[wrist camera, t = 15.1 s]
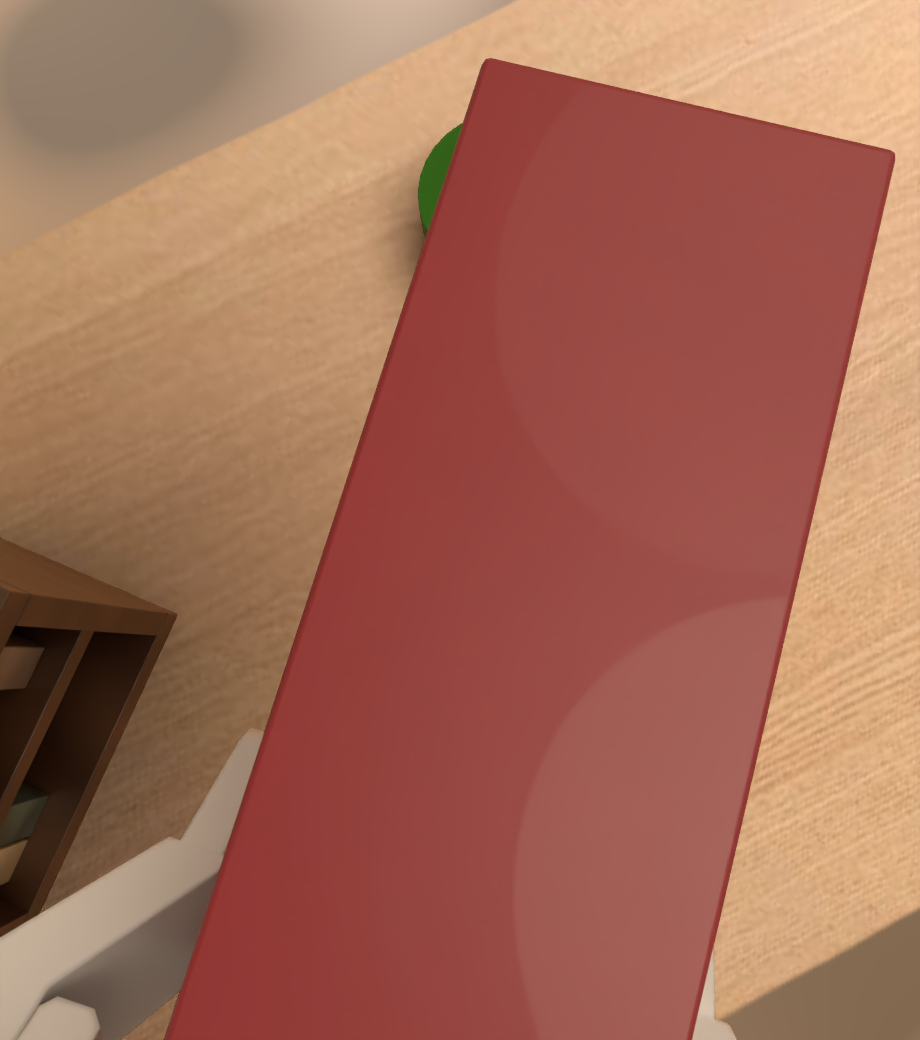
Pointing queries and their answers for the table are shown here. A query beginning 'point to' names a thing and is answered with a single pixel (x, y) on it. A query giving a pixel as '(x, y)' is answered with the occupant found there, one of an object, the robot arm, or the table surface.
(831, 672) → the table surface
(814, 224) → the book
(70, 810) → the bookshelf
